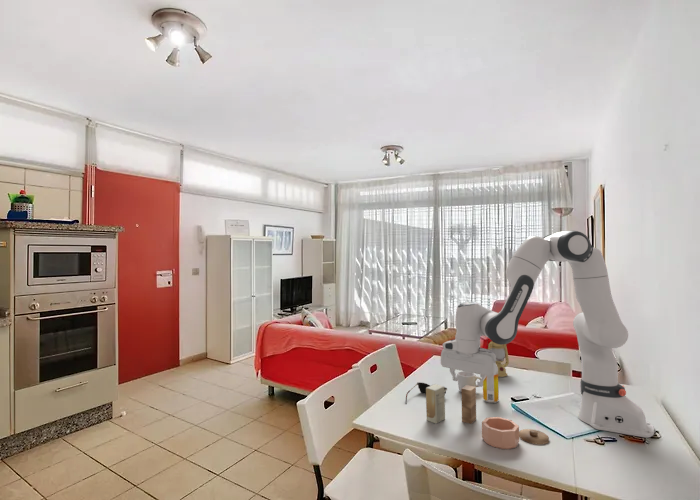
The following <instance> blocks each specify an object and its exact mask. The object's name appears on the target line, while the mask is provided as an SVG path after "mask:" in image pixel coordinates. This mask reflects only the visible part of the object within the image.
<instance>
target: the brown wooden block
mask: <svg viewBox="0 0 700 500" xmlns="http://www.w3.org/2000/svg"><path fill="white" fill-rule="evenodd" d="M460 392H461V422H463V423H466V424H469V425H472V424H473V423H474V422H475V421H476V420H477V387H474V386H469V385H466V386H464V387H463V388H462V389H461V391H460Z"/></svg>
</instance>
